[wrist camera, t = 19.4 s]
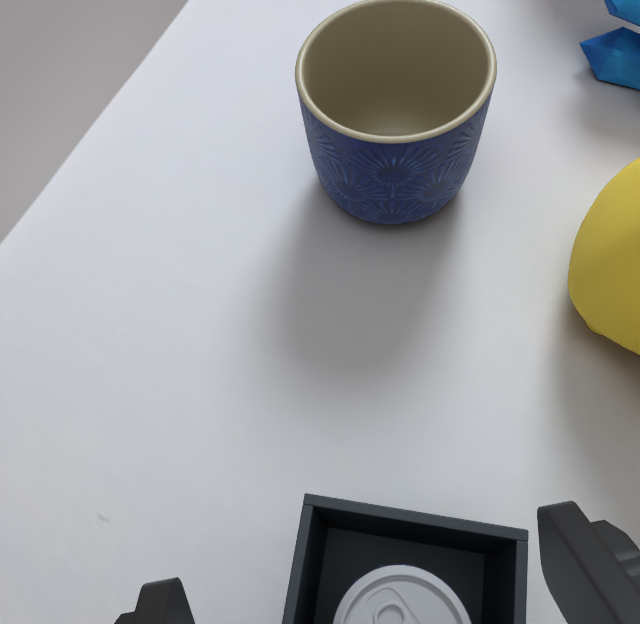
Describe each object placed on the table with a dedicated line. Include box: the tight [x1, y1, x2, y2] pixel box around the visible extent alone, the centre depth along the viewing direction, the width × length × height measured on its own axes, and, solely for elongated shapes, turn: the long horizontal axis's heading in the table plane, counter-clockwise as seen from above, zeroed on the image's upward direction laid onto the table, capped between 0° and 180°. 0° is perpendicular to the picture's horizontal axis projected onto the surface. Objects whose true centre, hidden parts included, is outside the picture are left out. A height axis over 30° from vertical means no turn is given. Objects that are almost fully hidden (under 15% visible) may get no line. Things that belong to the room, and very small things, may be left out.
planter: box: [295, 0, 497, 224], centre depth 43 cm, size 12×12×11 cm
